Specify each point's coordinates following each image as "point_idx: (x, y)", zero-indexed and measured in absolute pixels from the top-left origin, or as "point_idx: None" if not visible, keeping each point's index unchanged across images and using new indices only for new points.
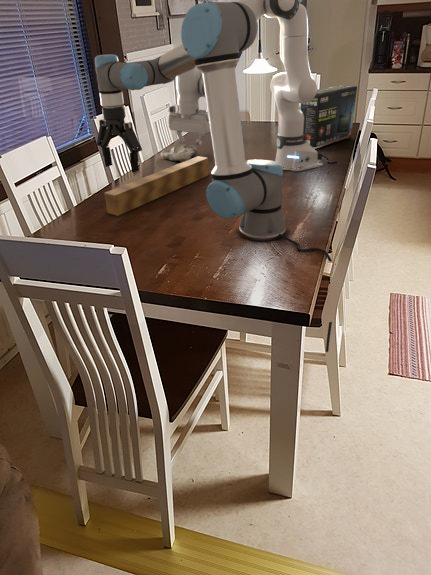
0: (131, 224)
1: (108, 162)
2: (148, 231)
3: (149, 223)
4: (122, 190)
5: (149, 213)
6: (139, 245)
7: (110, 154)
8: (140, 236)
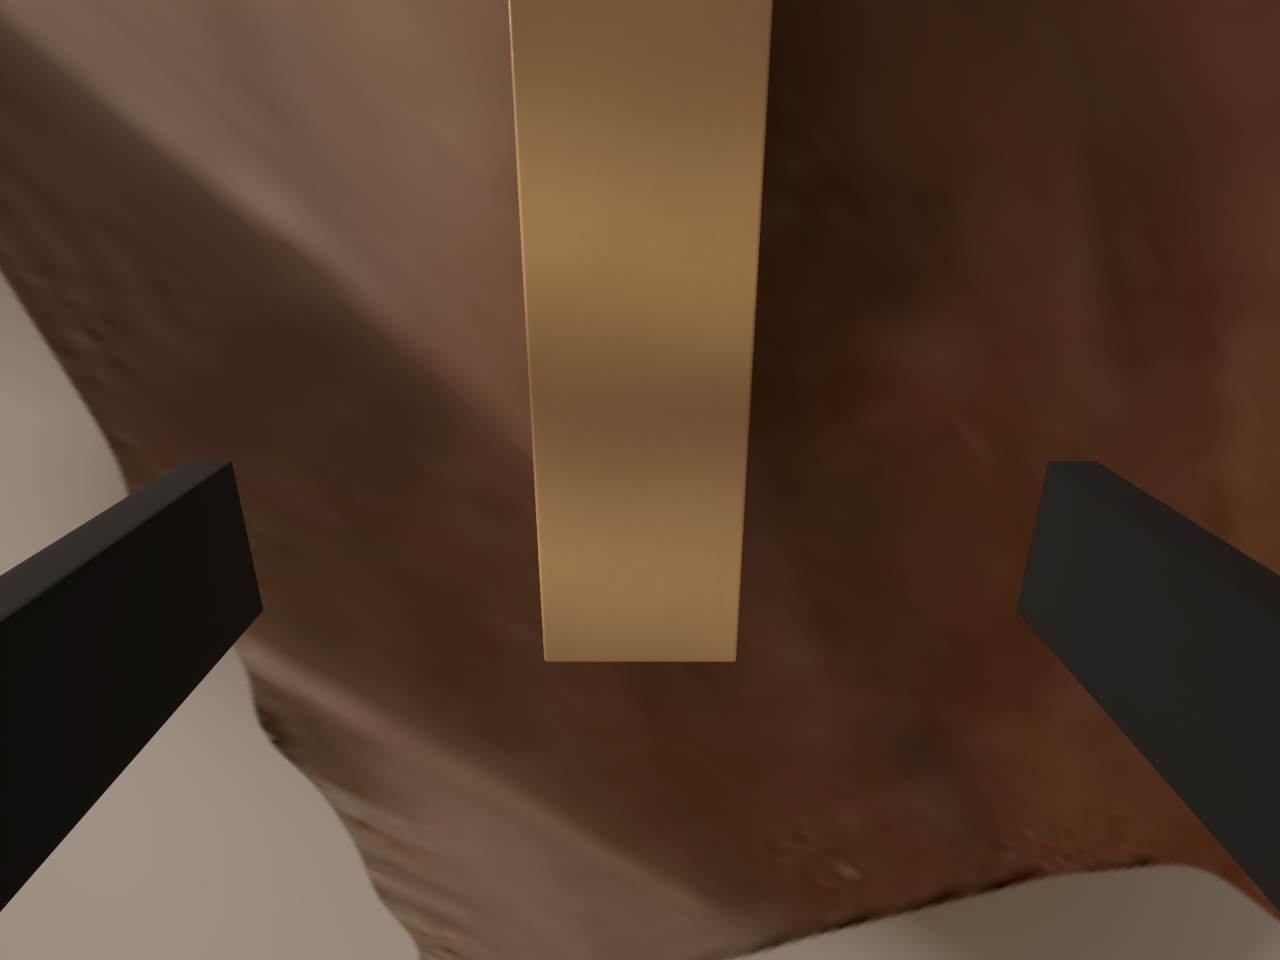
0: (956, 608)
1: (207, 595)
2: None
3: None
4: (686, 494)
5: (958, 339)
6: None
7: (56, 594)
8: None
